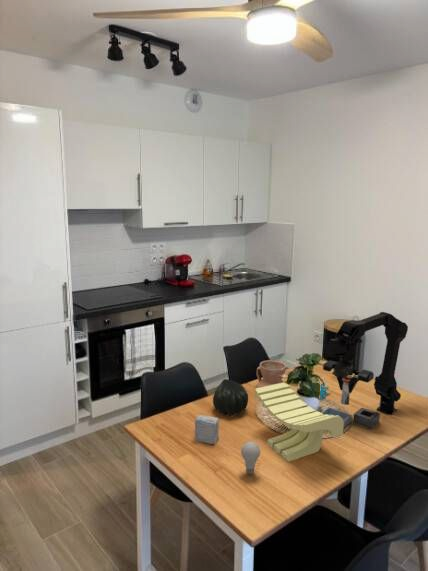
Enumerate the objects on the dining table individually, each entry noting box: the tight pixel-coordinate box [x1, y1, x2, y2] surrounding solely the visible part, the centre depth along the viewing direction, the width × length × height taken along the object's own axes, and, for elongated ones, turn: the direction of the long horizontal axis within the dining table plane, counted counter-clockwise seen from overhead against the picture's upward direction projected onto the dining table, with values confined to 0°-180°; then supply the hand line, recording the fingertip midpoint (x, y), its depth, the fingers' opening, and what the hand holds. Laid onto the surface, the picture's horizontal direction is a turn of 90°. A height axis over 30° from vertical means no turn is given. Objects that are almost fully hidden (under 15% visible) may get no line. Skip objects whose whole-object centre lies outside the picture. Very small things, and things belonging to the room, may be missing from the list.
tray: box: [320, 406, 353, 429], centre depth 172 cm, size 10×10×3 cm
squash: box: [212, 378, 249, 417], centre depth 179 cm, size 14×15×15 cm
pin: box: [340, 375, 353, 406], centre depth 169 cm, size 4×4×11 cm
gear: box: [319, 382, 330, 400], centre depth 196 cm, size 11×6×10 cm
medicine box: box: [194, 414, 220, 446], centre depth 157 cm, size 8×4×9 cm, turn 71°
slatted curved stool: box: [254, 382, 344, 462], centre depth 153 cm, size 30×16×18 cm, turn 27°
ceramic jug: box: [256, 359, 288, 388], centre depth 197 cm, size 18×14×14 cm
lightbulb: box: [240, 441, 261, 475], centre depth 137 cm, size 6×6×11 cm
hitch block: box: [352, 407, 381, 430], centre depth 171 cm, size 8×8×4 cm
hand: (345, 391), depth 169 cm, fingers closed on pin, 3 cm apart
